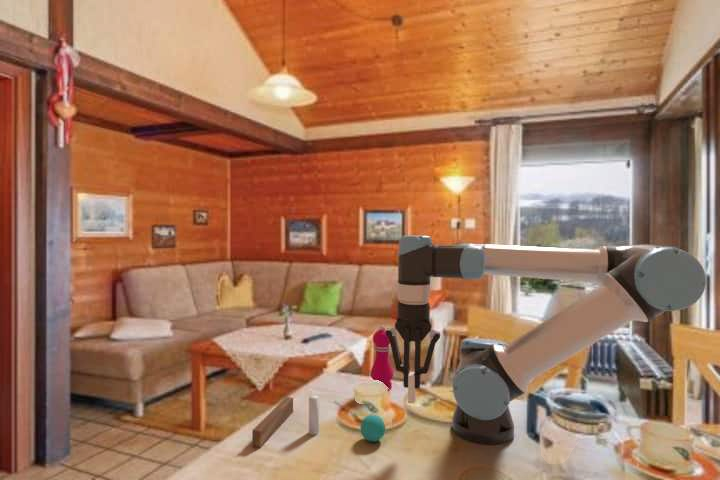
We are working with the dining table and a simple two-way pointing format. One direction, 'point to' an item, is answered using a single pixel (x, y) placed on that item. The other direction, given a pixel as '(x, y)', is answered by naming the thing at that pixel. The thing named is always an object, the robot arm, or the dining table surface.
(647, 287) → the robot arm
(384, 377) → the pepper mill
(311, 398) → the pin
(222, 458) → the dining table surface
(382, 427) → the ball
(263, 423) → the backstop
